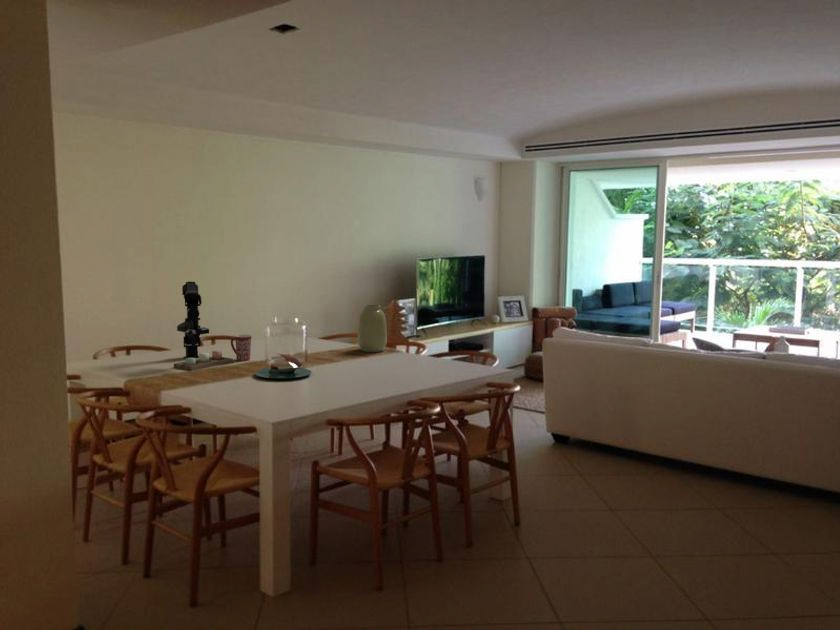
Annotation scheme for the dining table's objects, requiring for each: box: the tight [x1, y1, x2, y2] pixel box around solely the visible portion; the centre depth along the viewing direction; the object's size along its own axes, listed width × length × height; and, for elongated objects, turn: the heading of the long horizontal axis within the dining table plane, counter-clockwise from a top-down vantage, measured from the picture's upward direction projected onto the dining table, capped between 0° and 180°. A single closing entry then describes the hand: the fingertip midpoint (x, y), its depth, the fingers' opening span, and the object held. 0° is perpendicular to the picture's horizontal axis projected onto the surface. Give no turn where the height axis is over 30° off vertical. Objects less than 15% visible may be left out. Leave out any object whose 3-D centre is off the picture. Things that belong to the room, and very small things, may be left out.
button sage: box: [184, 358, 197, 365], centre depth 381 cm, size 5×5×4 cm
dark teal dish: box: [254, 353, 312, 379], centre depth 365 cm, size 28×28×11 cm
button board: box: [173, 356, 234, 371], centre depth 389 cm, size 14×28×2 cm, turn 148°
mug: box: [230, 334, 252, 362], centre depth 405 cm, size 13×9×14 cm
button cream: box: [198, 352, 210, 362], centre depth 389 cm, size 5×5×4 cm
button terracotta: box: [211, 350, 223, 360], centre depth 396 cm, size 5×5×4 cm
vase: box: [357, 304, 388, 353], centre depth 440 cm, size 17×17×27 cm
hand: (193, 345), depth 385 cm, fingers closed
